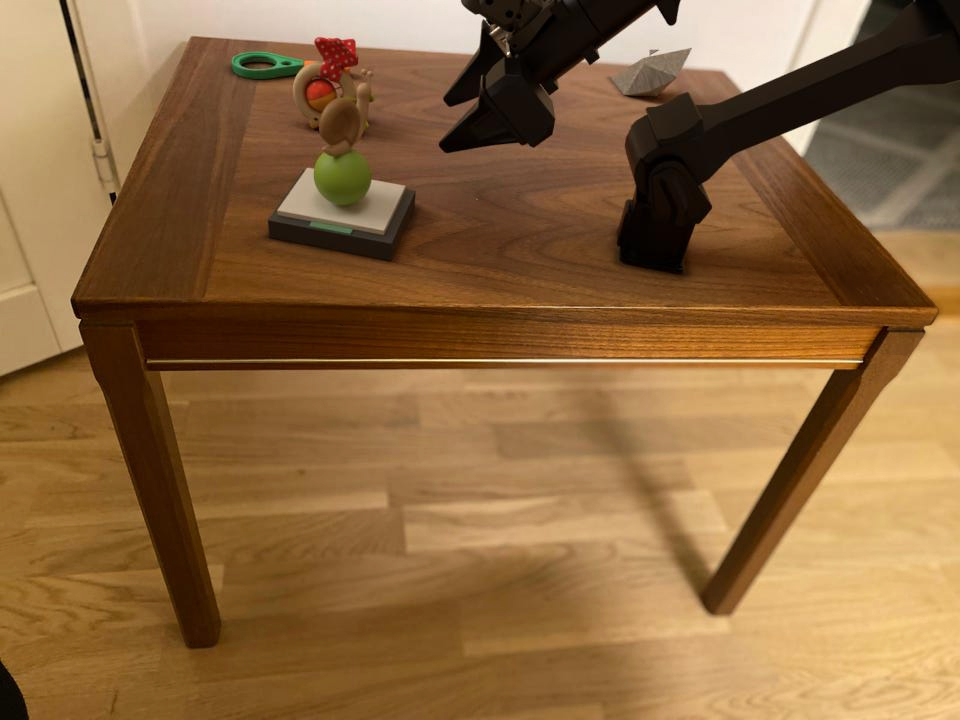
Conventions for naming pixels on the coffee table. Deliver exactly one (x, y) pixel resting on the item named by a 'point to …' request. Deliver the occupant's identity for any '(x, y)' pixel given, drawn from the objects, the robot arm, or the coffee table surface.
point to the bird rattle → (320, 90)
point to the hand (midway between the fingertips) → (443, 124)
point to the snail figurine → (344, 149)
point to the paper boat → (651, 73)
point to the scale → (344, 218)
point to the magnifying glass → (281, 68)
